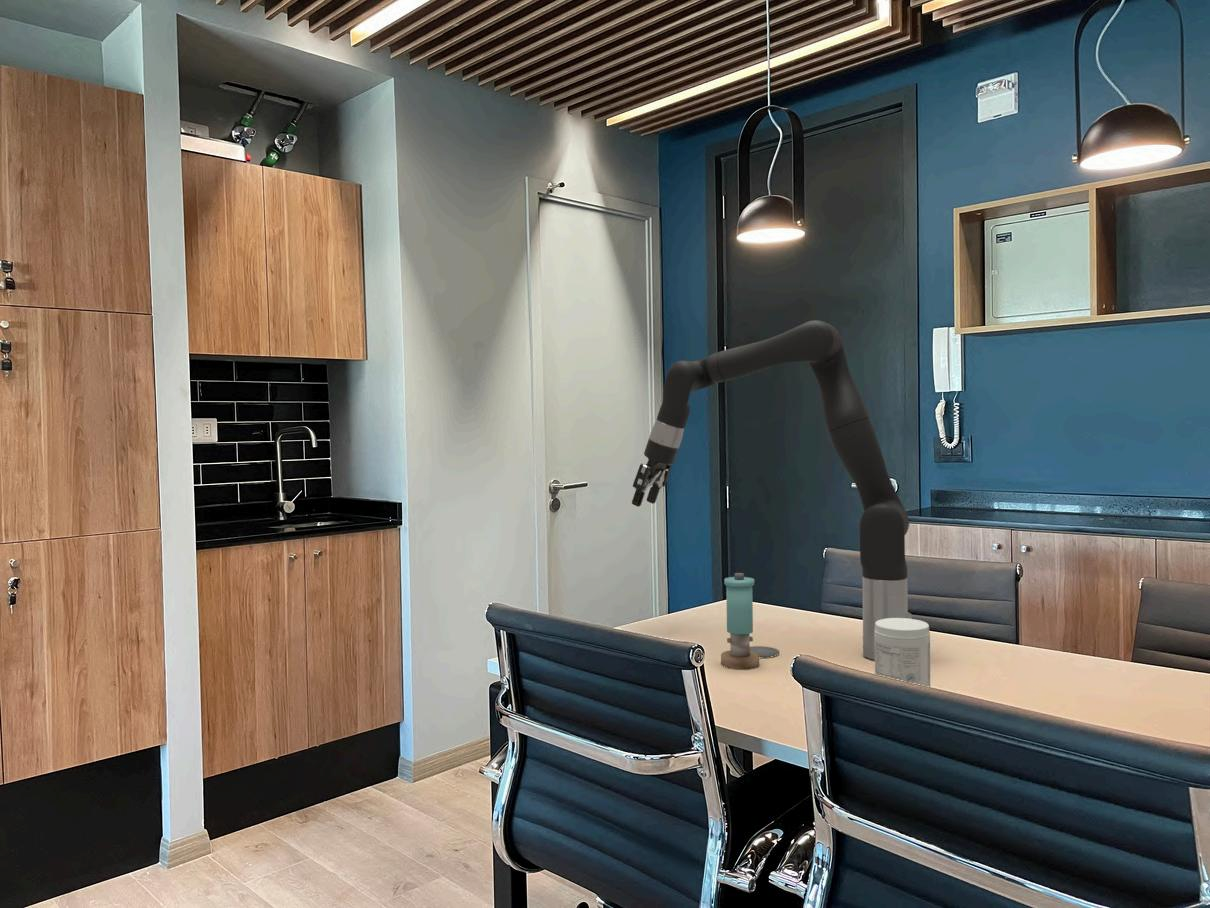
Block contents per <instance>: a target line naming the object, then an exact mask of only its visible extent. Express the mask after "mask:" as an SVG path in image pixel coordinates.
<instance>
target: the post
mask: <svg viewBox="0 0 1210 908" xmlns="http://www.w3.org/2000/svg"><path fill="white" fill-rule="evenodd" d="M729 634H730V636H729V637H728V638H727V637H726V643H728V644H729V646H730V650H726V651H723V652H721V654H720V665H721V664H722V665H723V666H722V665H721V666H722V667H724V666H725V667H724V668H726V667H727V668H726V669H730V668H733V669H732V670H740V669H744V670H752V669H751V668H753V669H756V668H755V667H757V668H759V666H760V658H759V654H758V653H756V652H752V651H750V647H751V646H750V645H751V644H750V643H751V642H754V637H752V636H750V634H751V633H750V634H731V633H729Z"/></svg>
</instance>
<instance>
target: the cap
mask: <svg viewBox="0 0 1210 908" xmlns="http://www.w3.org/2000/svg"><path fill="white" fill-rule="evenodd" d="M723 582H724V585H725V586H726V632H727V633H728V634H730V633H731V634H752V633H753V632H754V623H753V622H754V618H753V617H754V614H753V613H754V611H753V603H754V602H753V586H754V585H755V578H752V577H748V576H745V573H743V572H735V573H734V576H729V577H725V578H724V581H723Z"/></svg>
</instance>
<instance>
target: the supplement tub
mask: <svg viewBox="0 0 1210 908" xmlns="http://www.w3.org/2000/svg"><path fill="white" fill-rule="evenodd" d="M874 631H875V633H874V645H875V660H874V675H875V674H877V675H881V676H885V677H890V678H894V679H899V680H903V681H906V682H911V683H916V684H920V685H924V686H929V687H930V688H931V632H930V625H929V623H928V622H926V621H923V620H920V619H914V618H912V619H908V618H886V619H881V620H878V621H876V622H875V630H874Z"/></svg>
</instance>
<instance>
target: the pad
mask: <svg viewBox="0 0 1210 908" xmlns="http://www.w3.org/2000/svg"><path fill="white" fill-rule="evenodd" d="M750 651H752V652H756V653H758V654H759V657H771V656H775V655H777V654H779V655H780V650H779V649H778V648H775V647H772V646H770V647H769V646H765V645H764V646H762V645H761V646H756V645H755V646H750Z"/></svg>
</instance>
